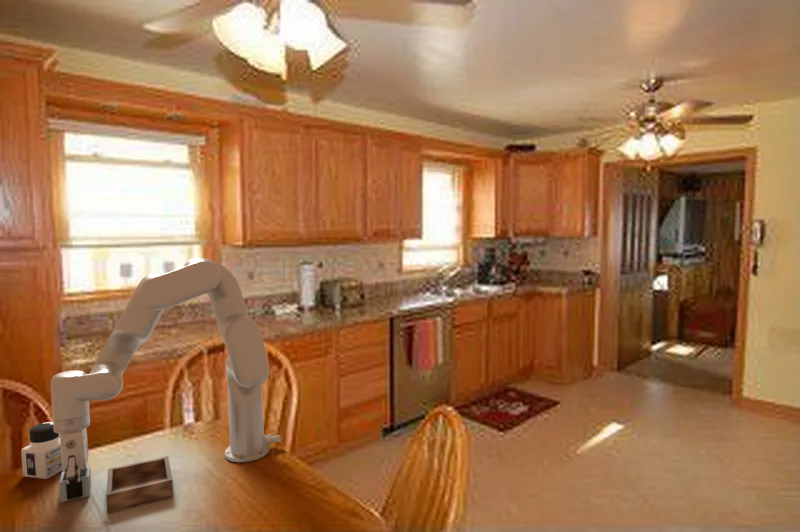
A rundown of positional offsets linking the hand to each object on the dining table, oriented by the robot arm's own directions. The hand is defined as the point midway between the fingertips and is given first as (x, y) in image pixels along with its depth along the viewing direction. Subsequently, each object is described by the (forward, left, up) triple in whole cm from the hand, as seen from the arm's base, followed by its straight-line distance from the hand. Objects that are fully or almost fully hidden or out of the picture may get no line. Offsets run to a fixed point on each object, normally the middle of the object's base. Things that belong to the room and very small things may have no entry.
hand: (76, 490), depth 123 cm
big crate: (-14, +7, -1) cm, 16 cm away
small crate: (0, 0, -1) cm, 1 cm away
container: (+8, -17, -1) cm, 19 cm away
